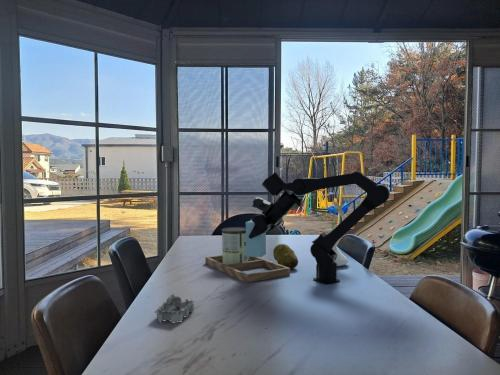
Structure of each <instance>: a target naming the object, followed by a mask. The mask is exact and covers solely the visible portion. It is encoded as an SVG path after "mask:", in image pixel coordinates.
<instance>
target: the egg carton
mask: <svg viewBox="0 0 500 375" xmlns="http://www.w3.org/2000/svg"><path fill="white" fill-rule="evenodd" d="M195 302H196V300H193V299H191V300H189V299H185V301H182V298H181V297H180V296H177V295H175V293H173V294H171V295H170V296H168V297H167V299H166V301H164V302H163V303H162V304H161V305H160V306H159V307H158V308H157V309H156V310H154V313H155V314H156V320H157V319H158V320H157V321H163V320H171V322H177V321H182V320H183V321H184V318H183V317H184V316H188V315H189V314H190V313H189V312H193V311H194V312H195V305H194V303H195ZM177 307H180V308H179V310H178V308H177ZM194 312H193V313H194ZM188 317H189V316H188ZM183 321H182V322H183ZM171 322H170V323H171Z"/></svg>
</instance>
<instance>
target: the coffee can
mask: <svg viewBox="0 0 500 375" xmlns="http://www.w3.org/2000/svg"><path fill="white" fill-rule="evenodd" d="M221 234H222V235H221V237H222V255H223V262H222V263H223V264H225V265H228V264H235V263H242V262H249V261H248V256H246V227H245V226H243V227H241V226H231V227H224V228H221Z"/></svg>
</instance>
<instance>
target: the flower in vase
mask: <svg viewBox="0 0 500 375" xmlns="http://www.w3.org/2000/svg"><path fill="white" fill-rule="evenodd" d="M332 204H333V207H334V208H335V211H334V214H333V215H332V218H331V224H330V226H332V228H328V229H326V230H327V232H328V233H330V232H331V231H332V230H333V229H334V226H336V225H337V224H338V221H336V220H335V221H334V217H335V215H336V213H338V215H339V216H340V217H341V218H343V219H345V218H346V216H345V212H344V211H343V209H342V206H341V205H339V202H338V201H337V200H333V201H332ZM332 249H333V250H334V251H335V252H336V253H337V258H336V260H335V261H334V262H335V263H337V267H343V266H346V265H347V264H348V263H349V260H348V258H347V257H346V256H345V254H343V253H342V252H341V251H340V250H339V249H338V247H337V243H336V244H335V246H334V247H333V248H332Z"/></svg>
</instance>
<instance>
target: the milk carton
mask: <svg viewBox="0 0 500 375" xmlns="http://www.w3.org/2000/svg"><path fill="white" fill-rule="evenodd" d="M254 225H255V224H254V222H253V221H252V218H251V219H250V220H249V221H245V228H246V256H250V257H260V258H263V257H264V256H265V255H267V232H265V233H263V234H261V235H258V236H256V237H254V238H251V239H250V238H249V235H250V233H251V231H252V229H253V227H254Z"/></svg>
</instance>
